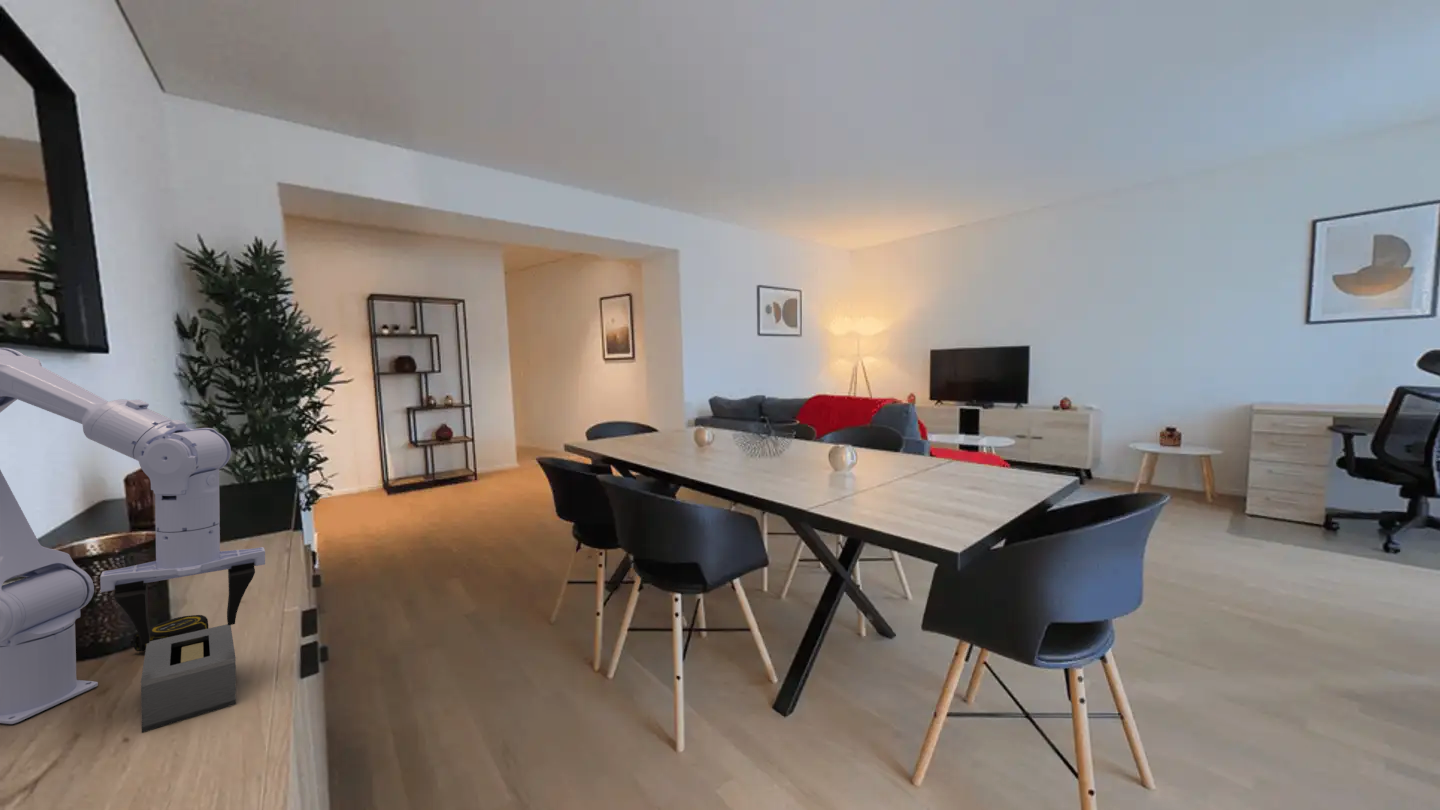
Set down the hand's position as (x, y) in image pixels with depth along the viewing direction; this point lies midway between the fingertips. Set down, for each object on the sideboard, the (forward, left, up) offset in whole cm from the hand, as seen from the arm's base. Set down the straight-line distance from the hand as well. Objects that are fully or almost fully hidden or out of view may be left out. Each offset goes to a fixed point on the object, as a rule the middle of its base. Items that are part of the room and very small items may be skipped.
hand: (190, 631), depth 68 cm
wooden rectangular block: (0, 0, -8) cm, 8 cm away
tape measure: (-15, +10, -9) cm, 20 cm away
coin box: (0, 0, -8) cm, 8 cm away
